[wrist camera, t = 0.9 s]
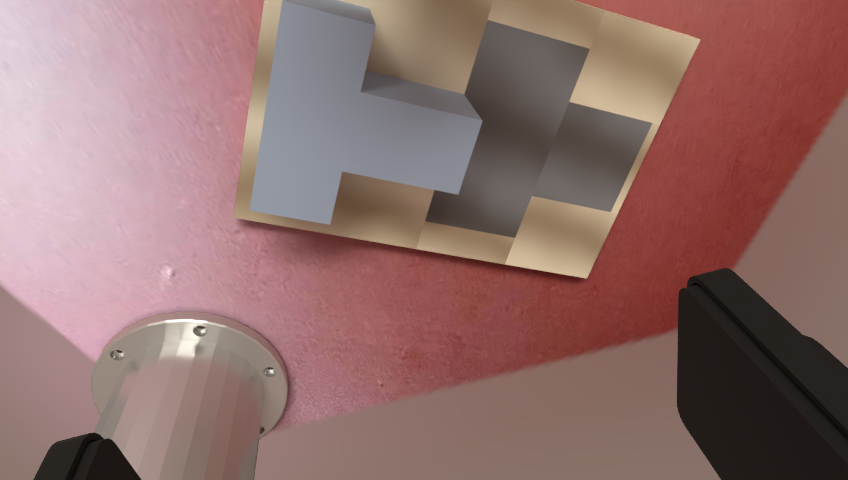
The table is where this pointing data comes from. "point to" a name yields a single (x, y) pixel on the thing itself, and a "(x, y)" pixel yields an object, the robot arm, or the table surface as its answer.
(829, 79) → the table surface
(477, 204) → the board
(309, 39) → the t block
